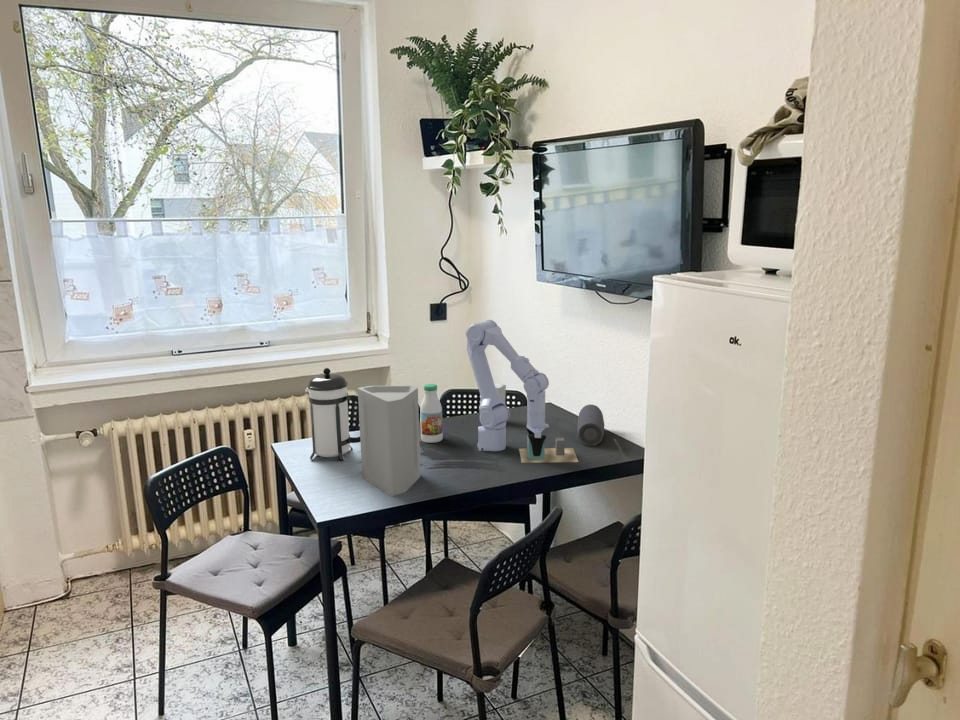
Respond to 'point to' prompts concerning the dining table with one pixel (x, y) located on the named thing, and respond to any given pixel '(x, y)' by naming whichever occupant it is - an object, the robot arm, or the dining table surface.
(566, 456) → the base board
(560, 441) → the post
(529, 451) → the teal foam brick
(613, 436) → the dining table surface
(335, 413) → the coffee press
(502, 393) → the skincare box
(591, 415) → the bluetooth speaker
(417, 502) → the dining table surface
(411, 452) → the hollow triangular prism
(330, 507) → the dining table surface
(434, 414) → the milk bottle
